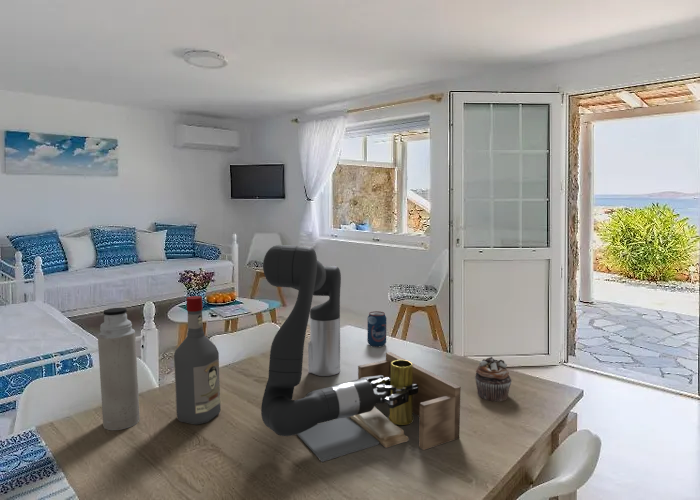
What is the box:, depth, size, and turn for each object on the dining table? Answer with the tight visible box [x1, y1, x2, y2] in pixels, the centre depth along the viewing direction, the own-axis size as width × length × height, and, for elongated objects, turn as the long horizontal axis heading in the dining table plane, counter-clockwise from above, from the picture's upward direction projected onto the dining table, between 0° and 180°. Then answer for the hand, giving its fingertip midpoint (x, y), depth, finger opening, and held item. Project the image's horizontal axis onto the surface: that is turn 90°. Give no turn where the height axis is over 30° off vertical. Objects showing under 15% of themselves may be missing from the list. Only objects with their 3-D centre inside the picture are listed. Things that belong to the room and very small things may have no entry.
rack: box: [349, 351, 462, 451], centre depth 113 cm, size 17×28×12 cm, turn 30°
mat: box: [296, 417, 380, 463], centre depth 106 cm, size 14×14×1 cm
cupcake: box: [474, 356, 513, 402], centre depth 129 cm, size 10×10×10 cm
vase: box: [387, 359, 414, 426], centre depth 114 cm, size 6×6×14 cm
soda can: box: [366, 310, 387, 348], centre depth 173 cm, size 7×7×12 cm
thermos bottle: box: [97, 307, 141, 431], centre depth 112 cm, size 8×8×28 cm
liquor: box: [173, 295, 221, 426], centre depth 116 cm, size 9×9×30 cm
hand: (409, 384), depth 115 cm, fingers closed on vase, 5 cm apart
